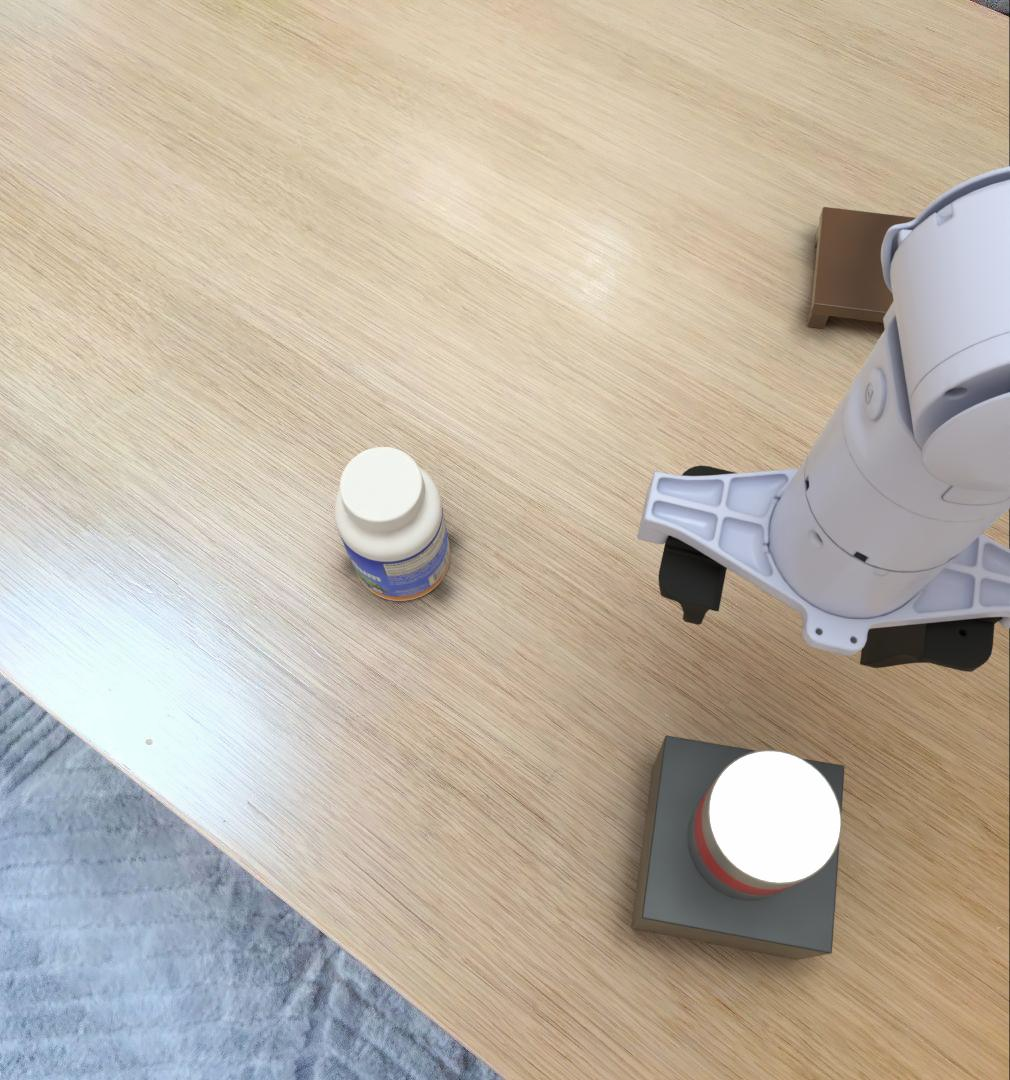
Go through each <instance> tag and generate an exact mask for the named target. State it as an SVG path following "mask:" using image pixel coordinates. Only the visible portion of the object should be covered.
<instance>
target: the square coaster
mask: <svg viewBox="0 0 1010 1080" xmlns="http://www.w3.org/2000/svg"><path fill="white" fill-rule="evenodd" d="M754 751H756V750H755V749H748V748H743V747H738V746H732V745H725V744H721V743H719V744H718V743H715V742H714V743H713V742H708V741H703V740H696V739H691V738H684V737H679V736H672V735H664V738H663V741H662V743H661V745H660V748H659V750H658V752H657V755H656V757H655V760H654V762H653V764H652V767H651V768H652V769H651V775H650V784H649V792H648V799H647V807H646V813H645V820H644V829H643V837H642V844H641V851H640V858H639V859H640V860H639V867H638V873H637V880H636V881H637V882H636V889H635V895H634V896H635V897H634V904H633V912H632V920H631V925H630V926H631V929H632V930H636V931H642V932H647V933H653V934H658V935H663V936H668V937H675V938H680V939H685V940H689V941H690V940H691V941H696V942H701V943H705V944H711V945H716V946H723V947H727V948H733V949H737V950H743V951H750V952H754V953H758V954H763V955H769V956H774V957H781V958H786V959H791V960H795V961H799V960H804V959H809V958H814V957H815V958H816V957H821V956H827V955H831V954H833V942H834V940H833V939H834V929H835V928H834V927H835V915H836V913H835V912H836V900H837V899H836V898H837V885H838V883H837V882H838V870H839V869H838V868H839V854H840V840H841V838H840V839H839V843H838V846H837V848H836V850H835V852H834V854H833V856H832V857H831V859H830V860H829V862H828V863H827V864H826V865H825V866H824V867H823V868H822V869H821V870H820V871H819V872H817V873H816V874H814V875H813V876H811V877H809V878H807V879H805V880H803V881H802V882H800V883H798V884H796V885H794V886H792V887H790V888H788V889H786V890H784V891H782V892H779V893H777V894H775V895H773V896H770V897H767V898H764V899H759V900H742V899H737V898H733V897H730V896H728V895H725V894H723V893H721V892H720V891H718V890H717V889H715V888H714V887H712V886H711V885H710V884H709V883H708V882H707V881H706V880H705V879H704V878H703V877H702V875H701V874H700V873H699V871H698V870H697V868H696V866H695V864H694V862H693V860H692V857H691V854H690V850H689V845H688V828H689V823H690V820H691V817H692V814H693V812H694V810H695V808H696V807H697V805H698V804H699V802H700V801H701V799H702V798H703V796H704V795H705V793H706V792H707V790H708V789H709V787H710V786H711V785H712V783H713V782H714V781H715V780H716V779H717V777H718V776H719V774H720V773H721V772H722V771H723V770H724V769H725V767H726V766H728V765H729V764H730V763H731V762H732V761H734V760H736V759H737V758H739V757H741V756H743V755H745V754H747V753H751V752H754ZM803 759H804V760H806V761H808V762H809V763H811V764H812V765H813V766H814V767H816V768H817V769H818V770H819V771H820V772H821V773H822V774H823V775H824V776H825V778H826V779H827V780H828V782H829V783H830V785H831V786H832V788H833V790H834V792H835V794H836V797H837V799H838V802H839V806H840V810H841V813H842V811H843V810H842V809H843V795H844V782H845V768H846V767H845V765H844V764H843V765H842V764H837V763H831V762H825V761H819V760H815V759H808V758H803Z"/></svg>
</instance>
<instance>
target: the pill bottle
mask: <svg viewBox="0 0 1010 1080" xmlns="http://www.w3.org/2000/svg"><path fill="white" fill-rule="evenodd" d="M333 518H334V522H335V526H336V528H337V532H338V534H339V537H340V539H341V541H342V544H343V547H344V548H345V551H346V552H347V555H348V557H349V560H350V562H351V564H352V567H353V569H354V571H355V573H356V574H355V575H357V577H358V579H359V580H360V582H361V583H362V585H363V586H364V587H365V588H367V590H368V591H369V592H370V593H372V594H374V595H375V596H377V597H379V598H382V599H385V600H389V601H393V602H405V601H413V600H417V599H420V598H422V597H424V596H426V595H428V594H429V593H431V592H432V591H433V590H435V589H436V588H437V587H438V586H439V585H440V584H441V582H442V581H443V580H444V578H445V576H446V574H447V572H448V570H449V566H450V563H451V545H450V540H449V535H448V532H447V525H446V520H445V514H444V508H443V502H442V498H441V494H440V491H439V488H438V485H437V484H436V482H435V480H434V479H433V478H432V476H431V475H430V474H429V473H428V472H427V471H426V470H425V469H423V468H422V467H421V466H419V464H418V463H417V462H416V460H414V459H413V457H411V456H410V455H409V454H408V453H407V452H405V451H403V450H400V449H398V448H395V447H390V446H376V447H370V448H368V449H365V450H363V451H361V452H359V453H358V454H356V455H355V456H354V457H352V458H351V459H350V461H349V462H347V464H346V465H345V466H344V468H343V471H342V473H341V476H340V479H339V488H338V490H337V493H336V496H335V499H334V505H333Z"/></svg>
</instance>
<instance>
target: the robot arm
mask: <svg viewBox="0 0 1010 1080" xmlns="http://www.w3.org/2000/svg"><path fill="white" fill-rule="evenodd" d="M914 218H915V219H914V220H912V221H910V222H908V223H903V224H897V225H893V226H892V227H890V228H889V229H888V231H887V232H886V235H885V237H884V240H883V243H882V248H881V263H882V270H883V276H884V280H885V283H886V285H887V287H888V288H889V290H890V291H891V293H892V294H893V300H894V301H893V303H892V305H891V306H890V308H889V310H888V311H887V313H886V315H885V316H884V318H883V321H884V323H883V328H884V330H883V332H882V333H881V335H880V336H879V338H878V340H877V341H876V343H875V345H873V348H872V349H871V351H870V353H869V354H868V356H867V358H866V359H865V360H864V361H863V364H862V365H861V367H860V368H859V370H858V372H857V374H856V375H855V377H854V378H853V380H852V382H851V383H850V385H849V387H848V388H847V389H846V391H845V393H844V395H843V396H842V398H841V399H840V401H839V403H838V404H837V406H836V407H835V409H834V411H833V413H832V414H830V415H831V416H830V417H829V418H828V420H827V422H826V423H825V425H824V427H823V428H822V430H821V432H820V433H819V434H818V436H817V438H816V439H815V442H814V443H813V444H812V446H811V448H810V450H809V451H808V453H807V455H806V456H805V458H804V459H803V461H802V463H801V464H800V466H798V467H794V468H783V469H772V470H759V471H746V472H735V471H730V470H727V469H722V468H717V467H713V466H709V465H695V466H692V467H689V468H688V469H687V470H685V471H684V472H683V473H682V474H681V475H680V474H674V473H668V472H662V471H658V470H657V471H654V472H653V474H652V478H651V480H650V483H649V486H648V488H647V492H646V495H645V499H644V504H643V509H642V513H641V518H640V521H639V527H638V532H637V534H636V535H637V536H636V538H637V540H639V541H644V542H647V543H650V544H651V543H652V544H656V545H663V544H664V546H663V551H662V556H661V561H660V566H659V570H658V588H659V592H660V596H661V597H663V598H665V599H667V600H668V599H669V600H670V601H673V602H677V603H678V604H679V605H680V607H681V610H682V613H683V614H682V620H683V622H685V623H688V624H692V625H697V626H699V625H701V624H702V623H703V622H704V618H705V617H706V615H707V613H708V611H713V612H720V607H721V601H722V596H723V590H724V585H725V580H726V574H727V570H729V571H730V572H733V573H734V574H735V575H737V576H739V577H741V578H742V579H743V580H745V581H747V582H749V583H750V584H752V585H754V586H755V587H757V588H759V590H762V591H763V592H765V593H766V594H769V595H770V596H771V597H773V598H775V599H777V600H778V601H780V602H781V603H783V604H785V605H786V606H788V607H789V608H791V609H793V610H794V611H796V612H797V613H799V614H800V616H801V618H802V626H801V637H802V639H803V641H804V642H805V644H806V645H807V646H809V647H811V648H813V649H817V650H820V651H825V652H828V653H833V654H837V655H842V656H847V657H848V656H854V655H856V654H858V653H859V652H860V651H861V652H860V660H859V665H860V666H861V665H862V666H866V667H869V668H873V669H883V668H889V667H894V666H895V667H896V666H901V665H910V664H932V665H936V666H940V667H944V668H949V669H953V670H957V671H961V672H966V673H972V672H974V671H976V670H977V669H978V668H980V667H981V666H983V665H984V664H986V663H987V662H988V661H989V659H990V657H991V656H992V653H993V648H994V636H995V635H994V634H995V625H996V624H997V623H999V624H1000V625H1001V626H1002V627H1004V628H1006V629H1010V548H1009V547H1007V546H1005V545H1003V544H1001V543H999V542H998V541H996V540H995V539H993V538H992V537H989V536H988V535H986V534H984V533H985V532H986V531H987V530H988V529H989V528H990V527H991V526H993V524H995V523H996V522H997V521H998V520H999V519H1000V518H1001V517H1002V516H1004V514H1006V513H1007V512H1008V511H1009V510H1010V165H1009V166H1004V167H1001V168H1000V167H999V168H995V169H993V170H989V171H986V172H983V173H981V174H978V175H976V176H973V177H971V178H969V179H966V180H964V181H962V182H960V183H958V184H956V185H955V186H953V187H951V188H949V189H947V190H946V191H944V192H943V193H941V194H940V195H938V196H937V197H936V198H934V199H933V200H932V201H931V202H929V204H927V206H925V207H924V208H923V209H922V211H921V212H919V214H918V215H917V216H916V217H914Z"/></svg>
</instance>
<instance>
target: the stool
mask: <svg viewBox="0 0 1010 1080" xmlns="http://www.w3.org/2000/svg"><path fill="white" fill-rule="evenodd" d="M915 218H916V217H914V216H905V215H896V214H887V213H881V212H872V211H863V210H855V209H847V208H838V207H830V206H823V207H822V209H821V213H820V216H819V220H818V227H817V229H816V233H815V240H814V247H815V248H816V250H815V251H816V252H815V262H814V274H813V283H812V285H813V286H812V293H811V294H812V296H811V303H810V304H811V305H810V308H809V310H808V312H807V313H808V314H807V322H806V323H807V324H806V325H807V327H809V328H816V329H825V327H826V324H827V321H828V319H829V317H835V318H842V319H843V318H844V319H852V320H859V321H867V322H874V323H883V324H884V321H883V318H884V316H885V315H886V313H887V311H888V310H889V308H890V306H891V305H892V303H893V301H894V300H893V294H892V293H891V291H890V290H889V288H888V287H887V285H886V283H885V280H884V276H883V270H882V263H881V248H882V243H883V240H884V237H885V235H886V232H887V231H888V229H889V228H890V227H892V226H893V225H897V224H903V223H908V222H910V221H912V220H914V219H915Z"/></svg>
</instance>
